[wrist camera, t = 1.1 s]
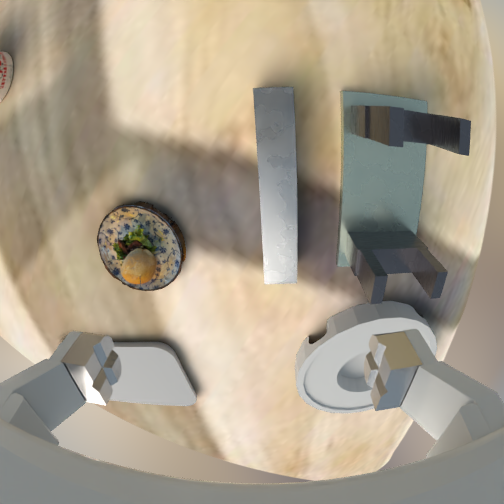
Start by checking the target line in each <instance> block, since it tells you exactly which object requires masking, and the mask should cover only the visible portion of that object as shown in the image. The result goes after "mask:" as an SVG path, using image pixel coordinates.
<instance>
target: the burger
mask: <svg viewBox="0 0 504 504" xmlns="http://www.w3.org/2000/svg"><path fill="white" fill-rule="evenodd" d="M168 219H169V217H167V215H166V214H162V213H161V212H160V211H158V210H157V209H156V208H153V205H152V204H148V203H145V202H137V203H134V204H129V205H122V206H119V207H116V208H115V209H114V210H113V211H112V212H111V213H109V214H108V215H107V216H106V217H105V218H104V219H103V221H102V223H101V225H100V228H99V231H98V236H97V243H98V247H99V251H100V256H101V259H102V261H103V263H104V265H105V268H106V269H107V270H108V272H109V273H110V274H111V275H112V276H113V277H114V278H116V279H118V280H119V281H121V282H122V284H124V285H127V286H129V287H130V288H133V289H137V290H143V291H154V290H159V289H162V288H164V287H166V286H168V285H169V284H170V283H171V282H173V281H174V280H175V279H176V277H177V276H178V274H179V273H180V271H181V265H182V262H183V260H184V261H185V258H186V247H185V241H184V238H183V235H182V232H181V230H180V229H179V227H178V225H177V224H176V223H175V221H173V220H171V219H170V220H171V221H172V222H173V223H172V222H171V221H169V220H168ZM173 224H174V225H173ZM183 254H184V255H183ZM183 257H184V258H183Z"/></svg>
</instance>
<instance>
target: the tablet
mask: <svg viewBox="0 0 504 504" xmlns="http://www.w3.org/2000/svg"><path fill="white" fill-rule="evenodd" d="M113 343H114V348H113V351H114V352H116V353H117V354H118V355H119V358H120V360H121V365H122V370H121V376H120V378H119V380H118V382H117V383H115V384H114V385H112V388H113V393H112V395H111V397H110V399H109V400H113V401H122V402H131V403H142V404H155V405H173V406H190V405H193V404H194V403H195V402H196V400H197V395H196V393H195V391H194V388H193V386H192V384H191V383H190V381H189V379H188V377H187V375H186V373H185V371H184V369H183V367H182V365H181V363H180V361H179V359H178V357H177V355H176V353H175V351H174V350H173V349H172V348H171V347H170V346H168V345H167V344H165V343H162V342H113ZM60 344H61V343H60ZM60 344H59V345H60ZM58 347H59V346H58ZM58 347H57V348H58Z"/></svg>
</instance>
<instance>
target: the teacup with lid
mask: <svg viewBox="0 0 504 504" xmlns="http://www.w3.org/2000/svg"><path fill="white" fill-rule="evenodd" d="M12 76H13V61H12V58H11V56H10V55H9V54H8V53H7V52H0V102H1V101H2V100H3V98H4V97H5V95H6V94H7V92H8V90H9V87H10V84H11V81H12Z"/></svg>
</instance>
